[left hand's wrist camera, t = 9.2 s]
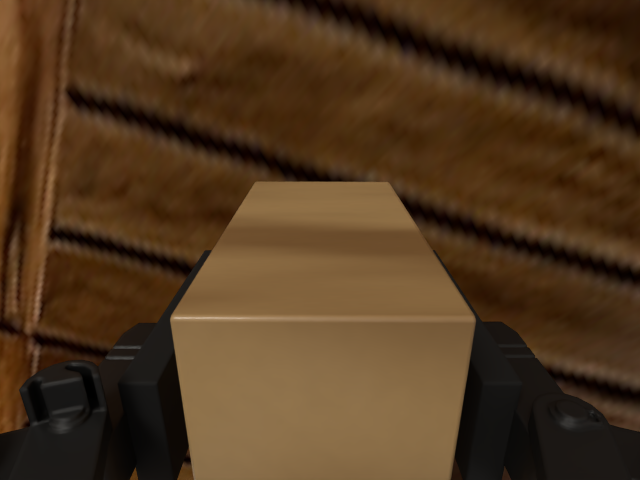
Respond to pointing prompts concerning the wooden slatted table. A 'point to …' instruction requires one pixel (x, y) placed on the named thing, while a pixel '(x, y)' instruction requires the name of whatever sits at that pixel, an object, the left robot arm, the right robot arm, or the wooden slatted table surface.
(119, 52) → the wooden slatted table surface
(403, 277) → the bar
